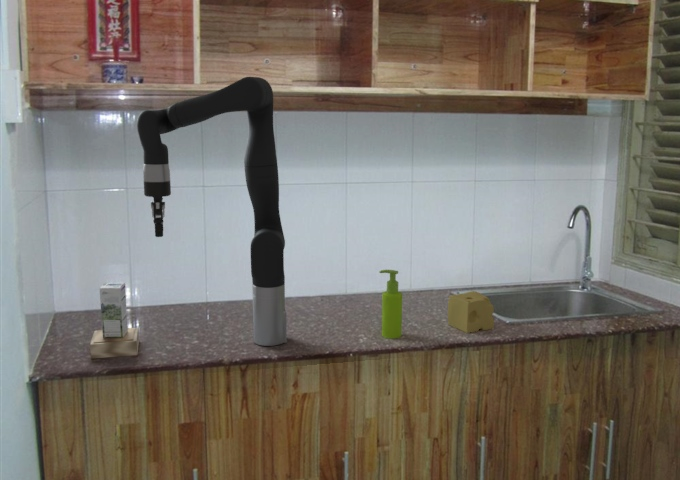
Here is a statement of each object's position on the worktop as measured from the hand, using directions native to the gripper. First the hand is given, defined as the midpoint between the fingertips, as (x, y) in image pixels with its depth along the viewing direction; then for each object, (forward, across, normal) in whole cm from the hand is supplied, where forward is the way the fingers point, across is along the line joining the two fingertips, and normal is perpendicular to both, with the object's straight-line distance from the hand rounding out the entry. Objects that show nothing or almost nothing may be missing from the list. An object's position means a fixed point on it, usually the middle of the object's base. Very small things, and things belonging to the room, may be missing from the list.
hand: (159, 234), depth 199 cm
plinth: (+30, -13, +13) cm, 35 cm away
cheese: (+30, -17, -93) cm, 99 cm away
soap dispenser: (+30, -19, -66) cm, 75 cm away
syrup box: (+26, -13, +13) cm, 32 cm away
